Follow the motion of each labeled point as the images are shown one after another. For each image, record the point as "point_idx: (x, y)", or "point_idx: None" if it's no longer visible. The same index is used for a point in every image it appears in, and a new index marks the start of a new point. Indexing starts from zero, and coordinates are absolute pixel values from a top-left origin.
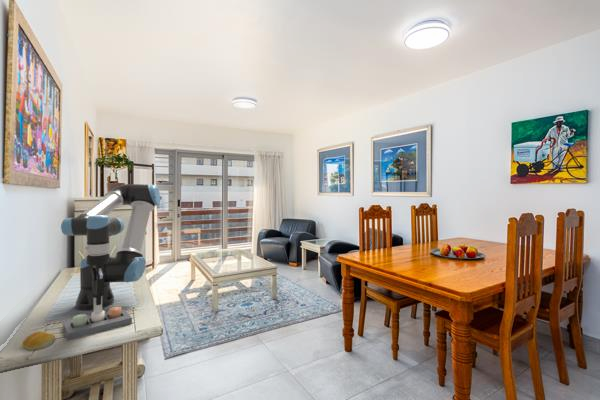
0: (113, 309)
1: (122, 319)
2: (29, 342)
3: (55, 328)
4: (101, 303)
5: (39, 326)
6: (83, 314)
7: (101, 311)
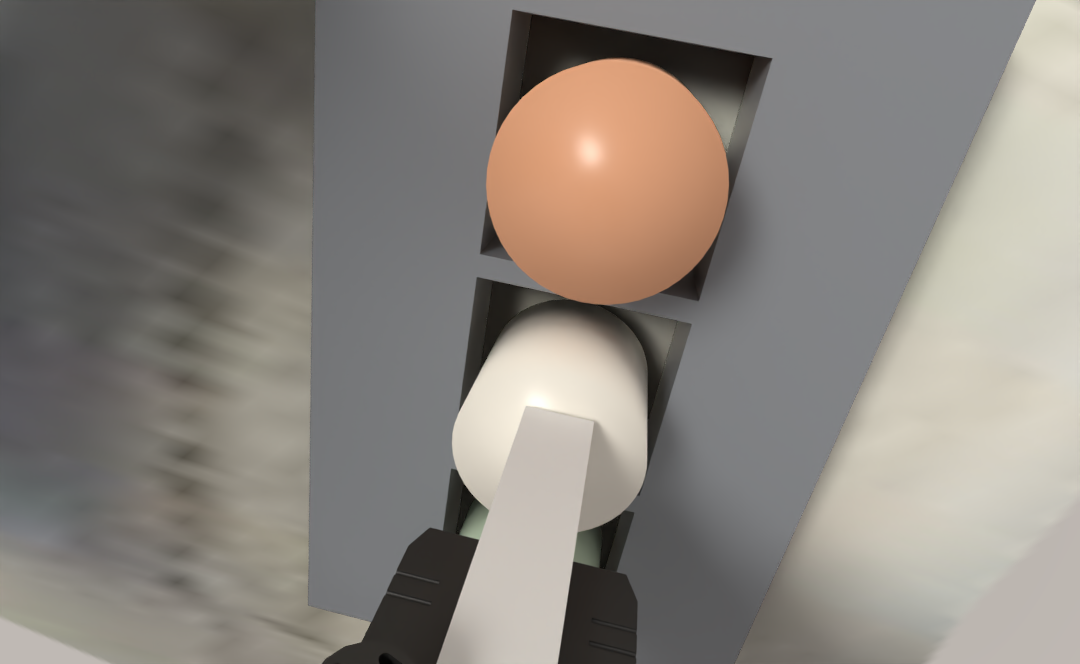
0: (624, 236)
1: (928, 167)
2: None
3: None
4: (571, 546)
5: (187, 631)
6: None
7: (588, 435)
